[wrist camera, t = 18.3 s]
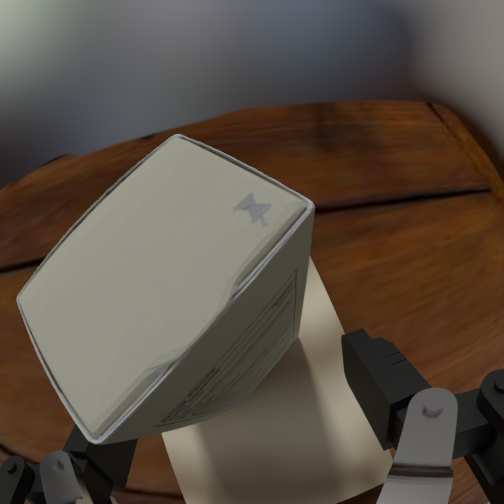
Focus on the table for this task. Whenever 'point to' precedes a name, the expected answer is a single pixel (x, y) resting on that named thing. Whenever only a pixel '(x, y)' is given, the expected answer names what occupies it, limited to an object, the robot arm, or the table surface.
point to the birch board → (287, 429)
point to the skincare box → (171, 293)
